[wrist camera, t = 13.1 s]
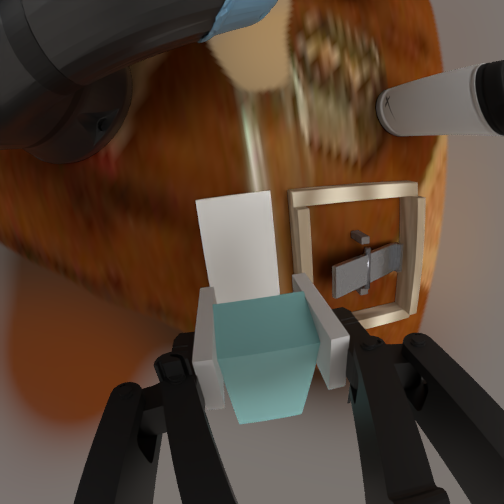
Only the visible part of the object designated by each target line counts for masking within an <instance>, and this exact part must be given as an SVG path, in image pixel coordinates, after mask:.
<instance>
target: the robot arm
mask: <svg viewBox="0 0 504 504" xmlns="http://www.w3.org/2000/svg"><path fill="white" fill-rule="evenodd" d="M277 1H278V0H0V150H4V149H24V150H25V151H27V152H29V153H30V154H32V155H33V156H35V157H36V158H38V159H40V160H42V161H45V162H48V163H54V164H63V163H73V162H78V161H81V160H84V159H86V158H88V157H90V156H92V155H94V154H95V153H97V152H98V151H99V150H101V149H102V148H103V147H104V146H105V145H106V144H107V143H108V142H109V141H110V140H111V139H112V138H113V137H114V135H115V134H116V133H117V131H118V130H119V128H120V127H121V125H122V123H123V121H124V119H125V117H126V115H127V112H128V109H129V106H130V102H131V97H132V76H131V72H130V69H129V66H130V65H132V64H134V63H137V62H139V61H142V60H144V59H147V58H149V57H152V56H155V55H158V54H160V53H163V52H166V51H169V50H172V49H175V48H178V47H181V46H184V45H187V44H191V43H194V42H198V43H202V42H205V41H207V40H209V39H211V38H212V37H213V36H215V35H218V34H221V33H225V32H228V31H232V30H236V29H239V28H243V27H247V26H250V25H253V24H255V23H257V22H259V21H260V20H261V19H263V18H264V17H265V16H266V15H267V14H268V13H269V12H270V10H271V9H272V8H273V7H274V6H275V4H276V3H277ZM292 283H293V293H294V292H301V291H304V293H305V298H306V301H307V304H308V307H309V310H310V313H311V315H312V318H313V321H314V324H315V327H316V330H317V333H318V336H319V339H320V342H321V343H320V347H319V351H318V355H317V360H316V363H317V366H318V368H319V370H320V372H321V374H322V376H323V379H324V381H325V383H326V385H327V387H328V389H329V390H331V389H334V388H338V387H342V386H345V384H346V377H347V378H348V380H349V382H350V388H349V396H348V403H350V401H351V404H352V409H353V415H354V421H355V427H356V433H357V440H358V446H359V452H360V460H361V467H362V474H363V482H364V491H365V500H366V504H450V501H449V498H448V495H447V493H446V491H445V490H444V489H443V488H439V487H437V486H436V485H435V483H434V479H433V476H432V472H431V469H430V465H429V462H428V459H427V455H426V452H425V449H424V446H423V443H422V440H421V436H420V434H419V431H418V428H417V425H416V422H415V420H416V421H417V423H418V425H419V426H420V427H421V429H422V430H423V432H424V433H425V435H426V436H427V437H428V439H429V440H430V442H431V443H432V445H433V446H434V448H435V449H436V451H437V452H438V453H439V455H440V456H441V458H442V459H443V461H444V462H445V464H446V465H447V467H448V468H449V470H450V471H451V473H452V474H453V476H454V477H455V479H456V480H457V482H458V484H459V485H460V487H461V488H462V490H463V491H464V493H465V494H466V496H467V497H468V499H469V500H470V502H471V504H504V410H503V409H502V408H501V407H500V406H499V405H498V404H497V403H496V402H495V401H494V400H493V399H492V398H491V396H489V394H487V392H486V391H485V390H484V389H483V388H482V387H481V386H480V385H479V384H478V383H477V382H476V381H475V380H474V379H473V378H472V377H471V376H470V375H469V374H468V373H467V372H466V371H465V370H464V369H463V368H462V367H461V366H459V364H458V363H456V361H454V360H453V359H452V358H451V357H450V356H449V355H448V354H447V353H446V352H445V351H444V350H443V349H442V348H441V347H440V346H439V345H438V344H437V343H436V342H434V341H433V340H432V339H431V338H430V337H429V336H427V335H425V334H422V333H411V334H408V335H407V336H405V338H404V339H403V344H385V342H384V341H383V340H382V339H380V338H379V337H375V336H370V335H369V334H368V332H367V331H366V330H365V329H364V327H363V326H362V325H361V324H360V322H359V321H358V320H357V319H356V318H355V316H354V315H353V314H352V312H351V311H349V310H347V309H345V308H343V307H341V308H336V309H331V308H330V307H329V305H328V304H327V303H326V301H325V300H324V298H323V297H322V296H321V294H320V293H319V291H318V290H317V289H316V287H315V286H314V285H313V283H312V282H311V280H310V279H309V278H308V276H307V275H306V274H305V273H300V274H293V275H292ZM212 304H217V301H216V296H215V290H214V286H212V287H204V288H200V295H199V303H198V311H197V320H196V328H195V332H189V333H180V334H179V335H178V336H177V337H176V338H175V339H174V343H173V348H172V352H169V353H166V354H163V355H161V356H160V357H158V358H157V359H156V361H155V363H154V368H155V370H156V373H157V376H158V378H159V381H160V383H158V384H156V385H154V386H151V387H147V388H144V389H142V388H141V387H140V385H138V384H136V383H133V382H127V383H122V384H120V385H118V386H117V387H115V388H114V389H113V391H112V392H111V394H110V397H109V399H108V402H107V405H106V407H105V410H104V413H103V415H102V418H101V421H100V423H99V426H98V429H97V432H96V434H95V437H94V440H93V443H92V446H91V449H90V452H89V455H88V458H87V461H86V464H85V467H84V471H83V474H82V477H81V480H80V483H79V487H78V490H77V493H76V497H75V501H74V504H153V497H154V489H155V480H156V474H157V467H158V460H159V453H160V446H161V439H162V433H165V432H167V434H168V439H169V445H170V450H171V455H172V460H173V465H174V470H175V475H176V479H177V484H178V488H179V492H180V496H181V500H182V504H238V502H237V500H236V497H235V495H234V492H233V490H232V487H231V485H230V482H229V479H228V477H227V474H226V472H225V469H224V466H223V463H222V461H221V458H220V455H219V452H218V449H217V446H216V443H215V441H214V438H213V435H212V432H211V428H210V425H209V423H208V419H207V416H206V413H205V406H206V409H207V410H213V409H224V408H225V399H224V379H223V375H222V372H221V369H220V366H219V363H218V361H217V353H216V341H215V328H214V315H213V305H212Z"/></svg>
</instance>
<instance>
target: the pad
mask: <svg viewBox="0 0 504 504" xmlns="http://www.w3.org/2000/svg"><path fill="white" fill-rule="evenodd" d="M196 207H197V213H198V220H199V226H200V232H201V238H202V245H203V250H204V256H205V262H206V268H207V273H208V279H209V284H210V287H212V286H214V290H215V296H216V301H217V304H220V303H227V302H235V301H242V300H249V299H256V298H262V297H269V296H276V295H280V290H279V279H278V267H277V256H276V245H275V235H274V224H273V214H272V204H271V195H270V190H265V191H257V192H249V193H241V194H233V195H226V196H219V197H212V198H205V199H198V200H196Z"/></svg>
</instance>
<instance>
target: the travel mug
mask: <svg viewBox="0 0 504 504" xmlns="http://www.w3.org/2000/svg"><path fill="white" fill-rule="evenodd" d="M376 111H377V116H378V119H379V121H380V123H381V124H382V126H383V127H384V128H385V129H386V130H387V131H388V132H389V133H391V134H393V135H395V136H420V135H487V136H504V60H501V61H496V62H492V63H482V64H479V65H478V64H477V65H473V66H468V67H464V68H460V69H455V70H451V71H448V72H444V73H440V74H436V75H432V76H429V77H425V78H422V79H418V80H415V81H412V82H408V83H405V84H402V85H399V86H396V87H393V88H390V89H387V90H384V91H383V92H382V93H381V94H380V95H379V97H378V99H377V103H376Z"/></svg>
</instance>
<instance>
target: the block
mask: <svg viewBox="0 0 504 504" xmlns="http://www.w3.org/2000/svg"><path fill="white" fill-rule="evenodd" d="M212 305H213V315H214V328H215V341H216V353H217V361H218V363H219V366H220V369H221V372H222V375H223V379H224V382H225V385H226V388H227V391H228V394H229V397H230V399H231V402H232V405H233V407H234V411H235V413H236V416H237V419H238V421H239V424H246V423H253V422H259V421H266V420H272V419H278V418H283V417H289V416H294V415H299V414H301V413H302V411H303V408H304V404H305V401H306V398H307V394H308V391H309V387H310V383H311V380H312V376H313V373H314V369H315V365H316V360H317V355H318V351H319V347H320V343H321V342H320V339H319V336H318V333H317V330H316V327H315V324H314V321H313V318H312V315H311V313H310V310H309V307H308V304H307V301H306V298H305V293H304V291H301V292H294V293H288V294H282V295H276V296H269V297H262V298H256V299H249V300H242V301H235V302H227V303H220V304H212Z"/></svg>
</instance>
